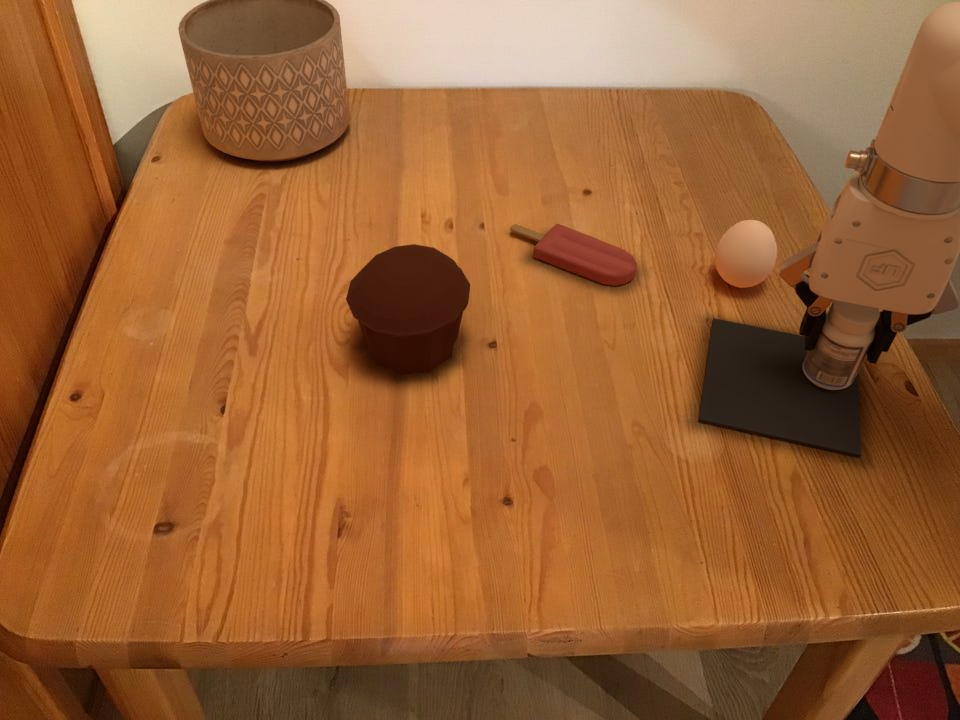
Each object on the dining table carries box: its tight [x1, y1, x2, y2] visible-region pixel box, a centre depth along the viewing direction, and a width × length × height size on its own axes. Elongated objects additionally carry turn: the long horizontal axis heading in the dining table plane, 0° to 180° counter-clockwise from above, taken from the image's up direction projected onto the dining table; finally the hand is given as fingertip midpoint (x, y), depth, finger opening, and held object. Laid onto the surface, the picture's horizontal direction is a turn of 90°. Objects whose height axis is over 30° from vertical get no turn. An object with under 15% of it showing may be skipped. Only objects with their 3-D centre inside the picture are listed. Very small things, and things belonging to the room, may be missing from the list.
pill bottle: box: [803, 300, 881, 390], centre depth 77 cm, size 5×5×8 cm
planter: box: [177, 0, 351, 163], centre depth 105 cm, size 19×19×14 cm
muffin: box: [345, 243, 471, 376], centre depth 79 cm, size 12×11×10 cm
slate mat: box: [697, 317, 862, 459], centre depth 80 cm, size 14×14×1 cm
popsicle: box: [509, 223, 637, 287], centre depth 92 cm, size 5×2×15 cm
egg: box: [714, 219, 778, 289], centre depth 87 cm, size 6×6×8 cm
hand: (840, 345), depth 77 cm, fingers closed on pill bottle, 4 cm apart
